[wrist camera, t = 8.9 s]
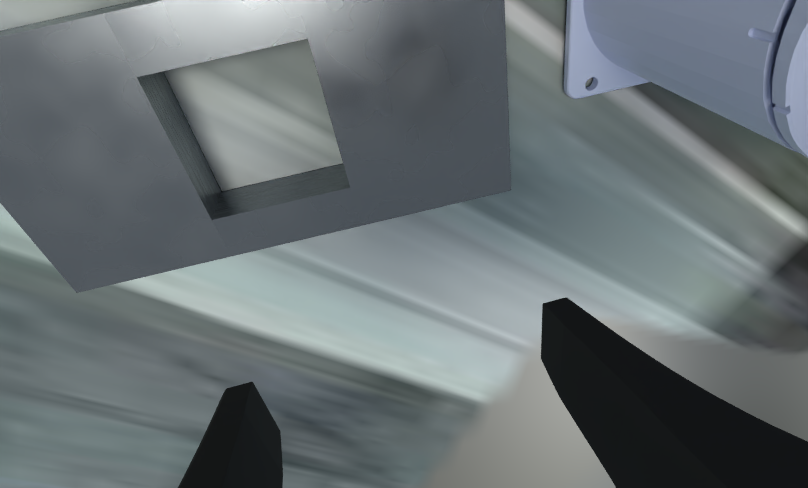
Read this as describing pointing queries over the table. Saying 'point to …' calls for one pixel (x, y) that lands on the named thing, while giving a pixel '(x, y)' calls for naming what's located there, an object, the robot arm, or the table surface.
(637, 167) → the table surface
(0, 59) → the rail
